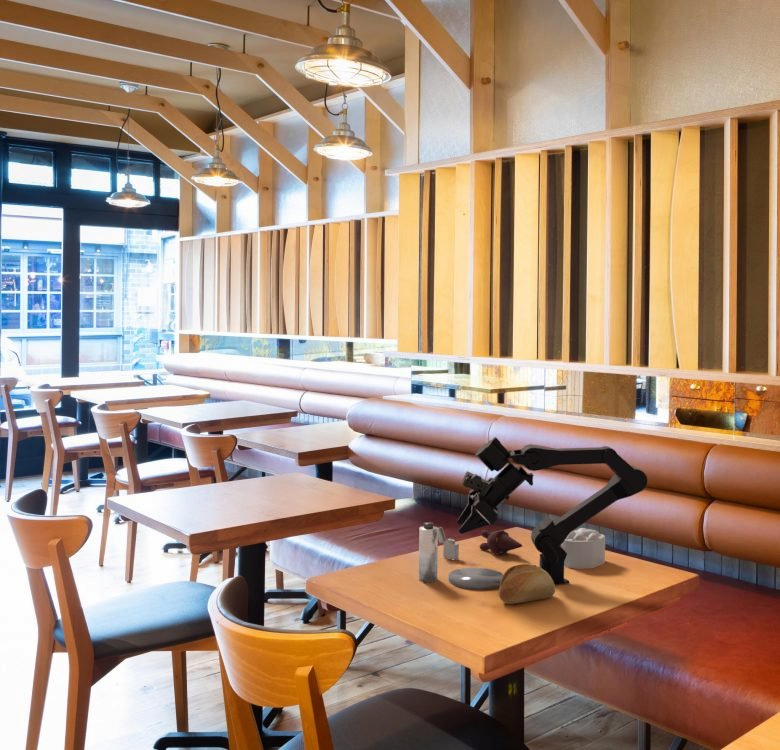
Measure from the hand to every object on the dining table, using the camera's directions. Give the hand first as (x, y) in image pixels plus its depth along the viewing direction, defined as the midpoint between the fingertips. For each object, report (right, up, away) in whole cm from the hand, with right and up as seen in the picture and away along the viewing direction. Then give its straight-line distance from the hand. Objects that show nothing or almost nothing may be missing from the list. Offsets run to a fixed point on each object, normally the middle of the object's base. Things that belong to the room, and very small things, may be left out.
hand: (458, 527), depth 202 cm
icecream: (+14, -12, +25) cm, 31 cm away
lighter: (-2, -12, +21) cm, 24 cm away
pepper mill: (-8, -13, +1) cm, 15 cm away
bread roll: (+14, -14, -14) cm, 25 cm away
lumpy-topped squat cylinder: (+34, -13, +17) cm, 40 cm away
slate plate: (+4, -13, 0) cm, 14 cm away
